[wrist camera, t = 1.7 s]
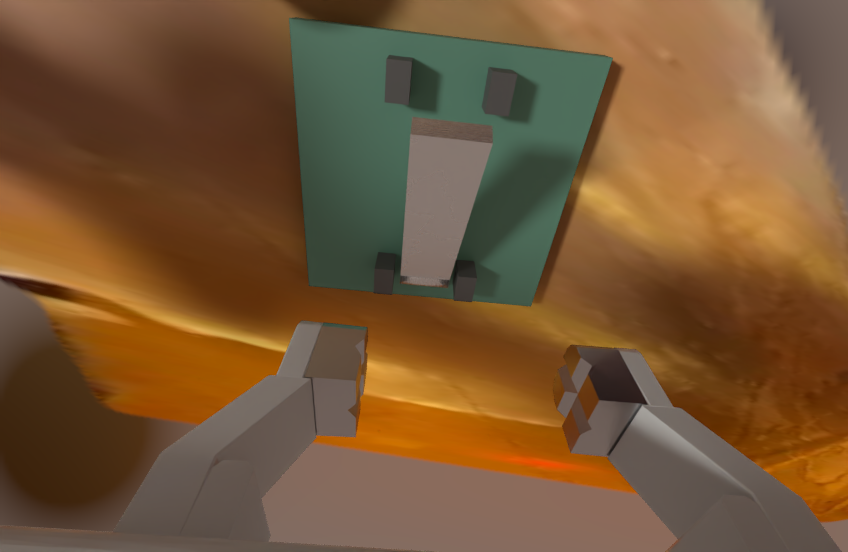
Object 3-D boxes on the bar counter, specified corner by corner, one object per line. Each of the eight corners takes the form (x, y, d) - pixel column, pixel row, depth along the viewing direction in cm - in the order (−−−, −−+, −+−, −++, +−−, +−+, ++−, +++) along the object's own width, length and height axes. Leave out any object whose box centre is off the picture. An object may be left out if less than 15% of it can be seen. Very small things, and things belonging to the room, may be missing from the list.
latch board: (313, 276, 36) (301, 303, 33) (295, 17, 25) (275, 19, 22) (527, 296, 37) (536, 324, 34) (604, 55, 26) (629, 63, 23)
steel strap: (401, 268, 34) (399, 287, 33) (412, 112, 20) (410, 138, 19) (447, 272, 34) (446, 291, 34) (492, 121, 20) (492, 148, 19)
